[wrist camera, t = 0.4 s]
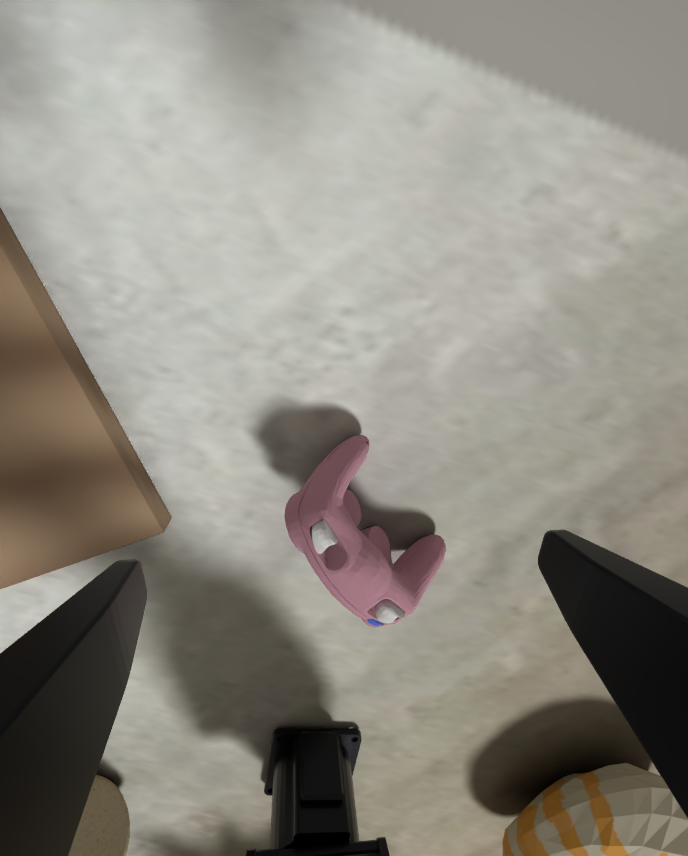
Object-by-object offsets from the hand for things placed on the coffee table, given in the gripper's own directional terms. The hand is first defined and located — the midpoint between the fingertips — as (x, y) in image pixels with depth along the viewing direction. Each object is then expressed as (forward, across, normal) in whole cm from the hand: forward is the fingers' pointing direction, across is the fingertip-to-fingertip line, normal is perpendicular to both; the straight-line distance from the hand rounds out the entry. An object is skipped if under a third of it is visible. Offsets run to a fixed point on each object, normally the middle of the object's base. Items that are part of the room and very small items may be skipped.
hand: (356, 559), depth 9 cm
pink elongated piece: (+14, -3, +8) cm, 16 cm away
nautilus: (+10, -25, +38) cm, 47 cm away
